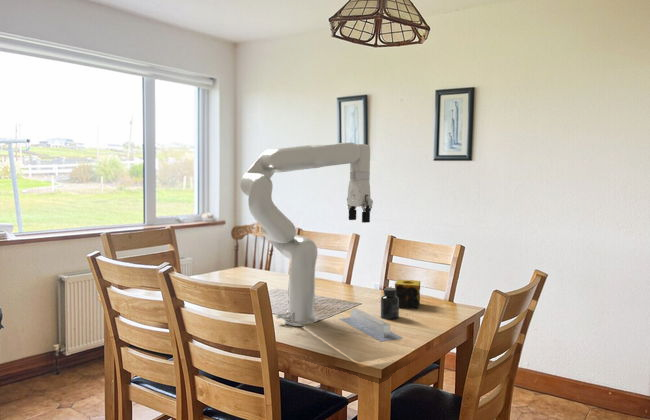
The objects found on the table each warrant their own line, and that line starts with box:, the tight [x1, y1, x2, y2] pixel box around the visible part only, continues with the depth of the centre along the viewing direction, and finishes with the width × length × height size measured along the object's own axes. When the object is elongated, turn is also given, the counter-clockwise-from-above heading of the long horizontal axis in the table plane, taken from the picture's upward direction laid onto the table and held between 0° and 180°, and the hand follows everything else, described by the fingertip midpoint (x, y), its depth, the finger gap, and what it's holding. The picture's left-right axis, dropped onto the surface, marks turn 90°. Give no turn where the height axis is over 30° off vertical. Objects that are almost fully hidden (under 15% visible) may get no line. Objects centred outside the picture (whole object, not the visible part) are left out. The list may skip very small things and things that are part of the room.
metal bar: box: [350, 308, 391, 338], centre depth 183 cm, size 2×22×4 cm, turn 27°
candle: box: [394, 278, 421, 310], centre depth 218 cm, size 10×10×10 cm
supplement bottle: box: [380, 287, 400, 321], centre depth 196 cm, size 7×7×12 cm
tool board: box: [339, 316, 404, 343], centre depth 183 cm, size 9×28×1 cm, turn 27°
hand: (358, 221), depth 201 cm, fingers open, 9 cm apart
